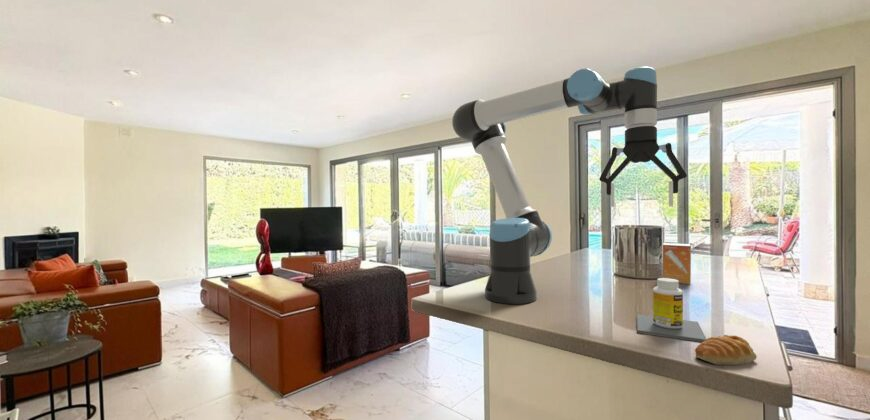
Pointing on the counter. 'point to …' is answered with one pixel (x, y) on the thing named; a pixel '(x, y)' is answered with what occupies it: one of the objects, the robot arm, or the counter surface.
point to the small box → (677, 262)
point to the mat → (686, 332)
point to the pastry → (725, 351)
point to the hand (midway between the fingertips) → (640, 206)
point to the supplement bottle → (668, 304)
